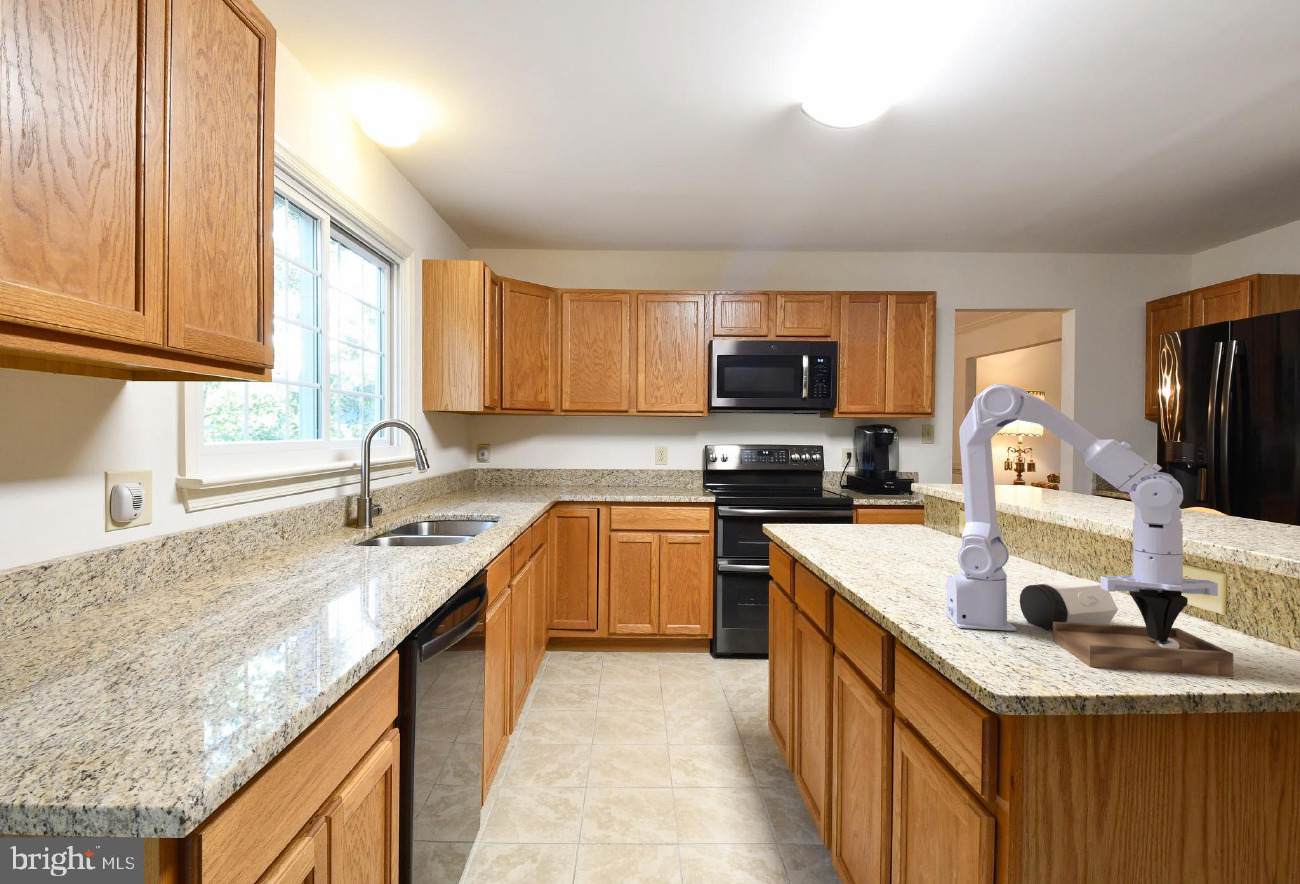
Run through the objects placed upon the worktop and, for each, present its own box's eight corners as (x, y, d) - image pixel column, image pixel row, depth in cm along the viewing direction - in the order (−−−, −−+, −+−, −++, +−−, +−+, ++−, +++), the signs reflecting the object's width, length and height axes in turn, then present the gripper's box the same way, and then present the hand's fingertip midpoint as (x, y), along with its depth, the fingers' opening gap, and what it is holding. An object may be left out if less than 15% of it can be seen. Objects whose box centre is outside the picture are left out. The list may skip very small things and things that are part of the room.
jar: (1126, 622, 97) (1063, 628, 96) (1091, 631, 104) (1032, 637, 103) (1101, 571, 101) (1040, 577, 100) (1068, 584, 108) (1011, 589, 107)
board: (1090, 666, 83) (1089, 645, 83) (1052, 640, 94) (1052, 621, 94) (1233, 676, 80) (1233, 653, 80) (1177, 647, 90) (1177, 628, 90)
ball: (1168, 665, 85) (1160, 644, 85) (1153, 657, 88) (1146, 637, 88) (1191, 659, 84) (1183, 639, 84) (1176, 652, 87) (1168, 632, 87)
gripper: (1119, 555, 84) (1120, 645, 84) (1234, 558, 81) (1234, 651, 81) (1092, 546, 91) (1093, 629, 91) (1197, 548, 88) (1198, 634, 88)
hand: (1157, 638), depth 86 cm, fingers closed
